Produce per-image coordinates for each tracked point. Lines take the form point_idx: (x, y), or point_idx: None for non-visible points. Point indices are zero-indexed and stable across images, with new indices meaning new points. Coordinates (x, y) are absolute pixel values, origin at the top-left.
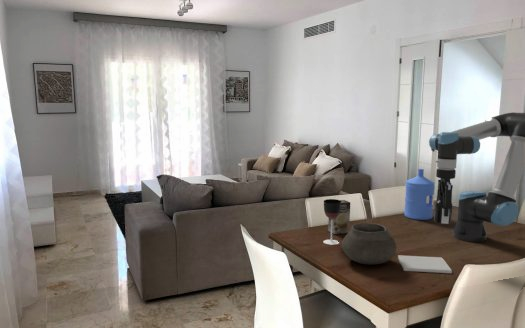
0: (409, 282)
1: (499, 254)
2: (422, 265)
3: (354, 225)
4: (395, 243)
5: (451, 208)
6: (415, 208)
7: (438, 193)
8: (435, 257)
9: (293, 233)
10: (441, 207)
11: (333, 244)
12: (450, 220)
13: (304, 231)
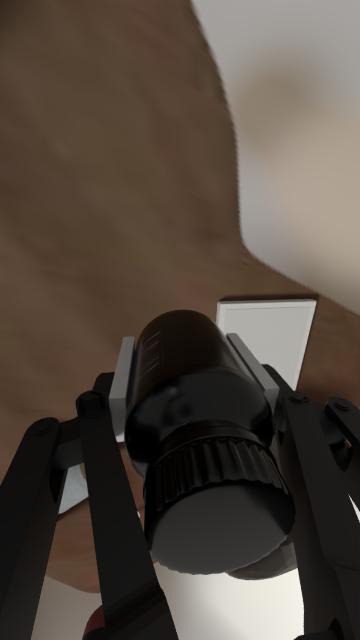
0: (347, 392)
1: (117, 21)
2: (281, 364)
3: (248, 577)
4: (276, 458)
5: (239, 362)
6: None
7: (45, 559)
8: (220, 322)
9: (79, 574)
10: (275, 443)
11: (138, 513)
12: (211, 321)
13: (56, 564)
